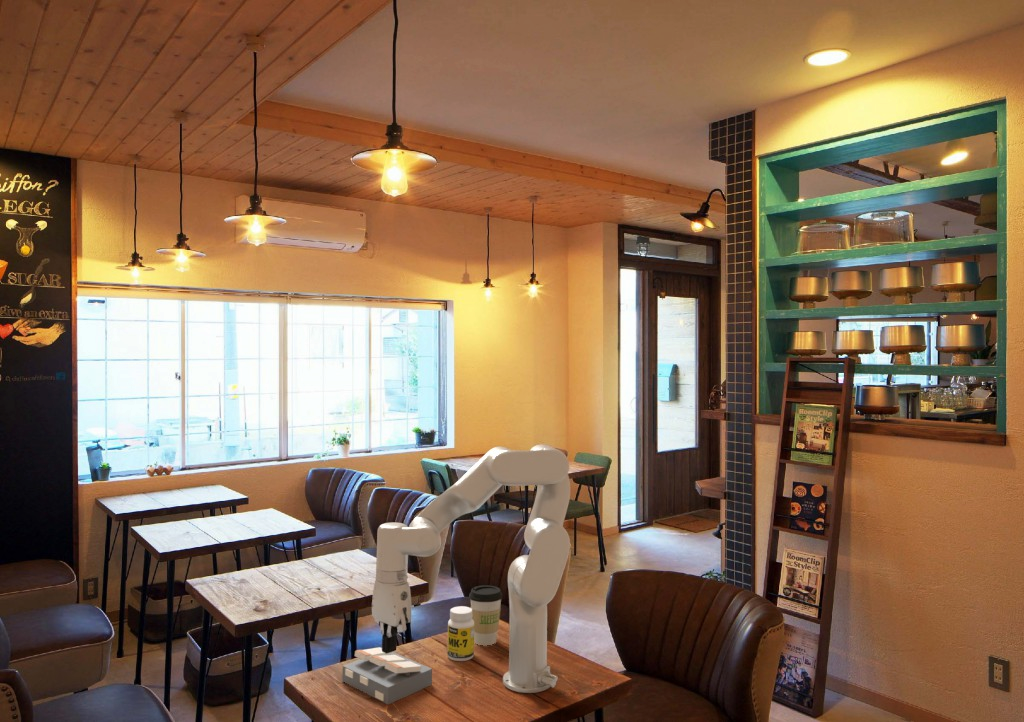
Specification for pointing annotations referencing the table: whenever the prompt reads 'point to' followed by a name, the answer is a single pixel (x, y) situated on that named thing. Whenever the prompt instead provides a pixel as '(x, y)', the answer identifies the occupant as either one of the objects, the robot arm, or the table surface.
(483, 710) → the table surface
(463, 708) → the table surface
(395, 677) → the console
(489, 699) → the table surface
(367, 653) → the block
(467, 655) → the supplement bottle
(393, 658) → the rocker
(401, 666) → the block
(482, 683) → the table surface
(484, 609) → the coffee cup
